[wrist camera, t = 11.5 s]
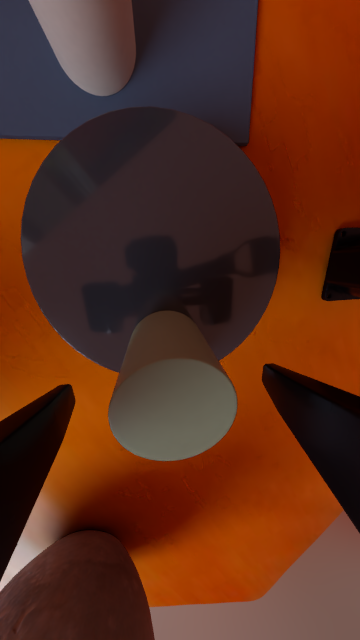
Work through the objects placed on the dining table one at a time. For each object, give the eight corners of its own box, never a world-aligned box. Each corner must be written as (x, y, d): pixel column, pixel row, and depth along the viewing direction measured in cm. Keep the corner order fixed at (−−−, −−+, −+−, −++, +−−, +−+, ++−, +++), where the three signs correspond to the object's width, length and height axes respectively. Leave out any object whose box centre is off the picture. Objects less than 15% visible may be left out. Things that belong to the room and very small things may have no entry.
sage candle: (201, 307, 12) (242, 351, 6) (201, 371, 13) (234, 452, 8) (126, 312, 11) (96, 365, 6) (134, 377, 13) (118, 470, 7)
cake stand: (251, 162, 14) (299, 113, 9) (238, 340, 19) (265, 367, 14) (42, 158, 12) (-28, 96, 8) (86, 353, 17) (59, 389, 12)
